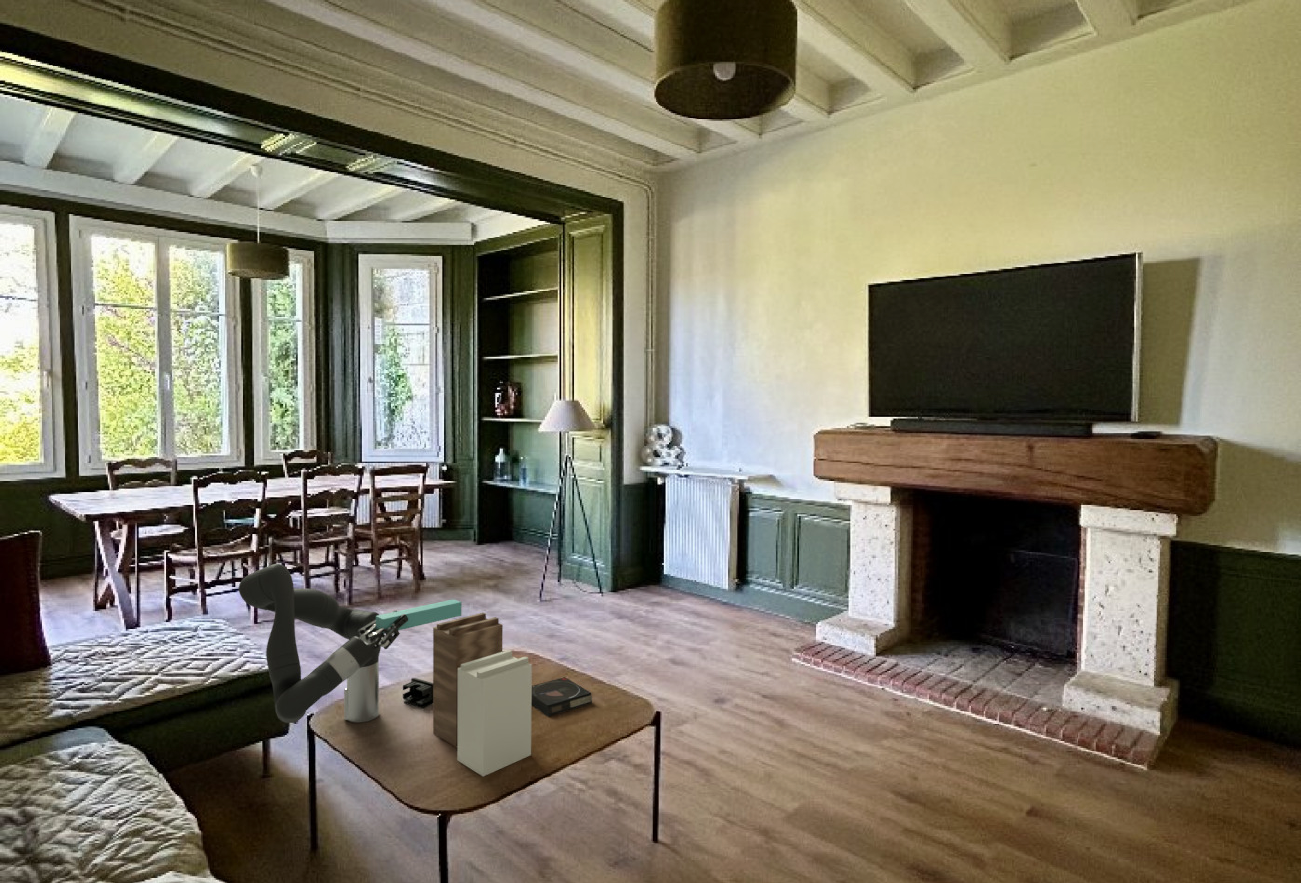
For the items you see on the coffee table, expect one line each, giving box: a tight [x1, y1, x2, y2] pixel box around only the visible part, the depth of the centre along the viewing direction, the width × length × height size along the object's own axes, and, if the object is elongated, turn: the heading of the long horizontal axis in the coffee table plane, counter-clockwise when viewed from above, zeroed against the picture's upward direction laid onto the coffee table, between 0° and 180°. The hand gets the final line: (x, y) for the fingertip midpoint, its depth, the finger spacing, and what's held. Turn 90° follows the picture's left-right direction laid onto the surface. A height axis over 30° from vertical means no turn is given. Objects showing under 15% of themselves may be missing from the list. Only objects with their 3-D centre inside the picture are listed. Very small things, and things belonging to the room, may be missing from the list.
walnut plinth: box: [432, 612, 504, 748], centre depth 216 cm, size 16×12×34 cm
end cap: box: [402, 677, 433, 710], centre depth 236 cm, size 10×7×7 cm
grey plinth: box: [456, 649, 533, 777], centre depth 200 cm, size 16×12×28 cm
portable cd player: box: [531, 676, 593, 717], centre depth 239 cm, size 16×17×4 cm
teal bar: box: [376, 598, 463, 635], centre depth 202 cm, size 24×4×4 cm, turn 138°
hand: (401, 614), depth 198 cm, fingers closed on teal bar, 4 cm apart
